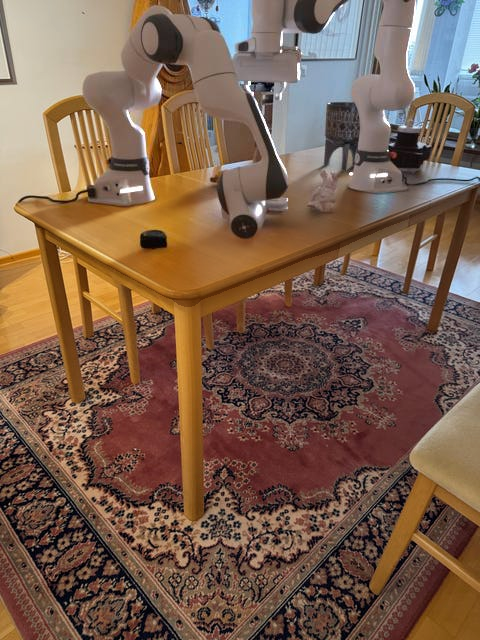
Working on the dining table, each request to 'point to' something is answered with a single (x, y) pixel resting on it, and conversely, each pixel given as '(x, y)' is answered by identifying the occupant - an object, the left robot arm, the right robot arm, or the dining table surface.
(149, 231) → the tape measure
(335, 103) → the planter
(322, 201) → the figurine
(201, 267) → the dining table surface
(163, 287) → the dining table surface
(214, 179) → the toy
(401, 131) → the mechanical component
